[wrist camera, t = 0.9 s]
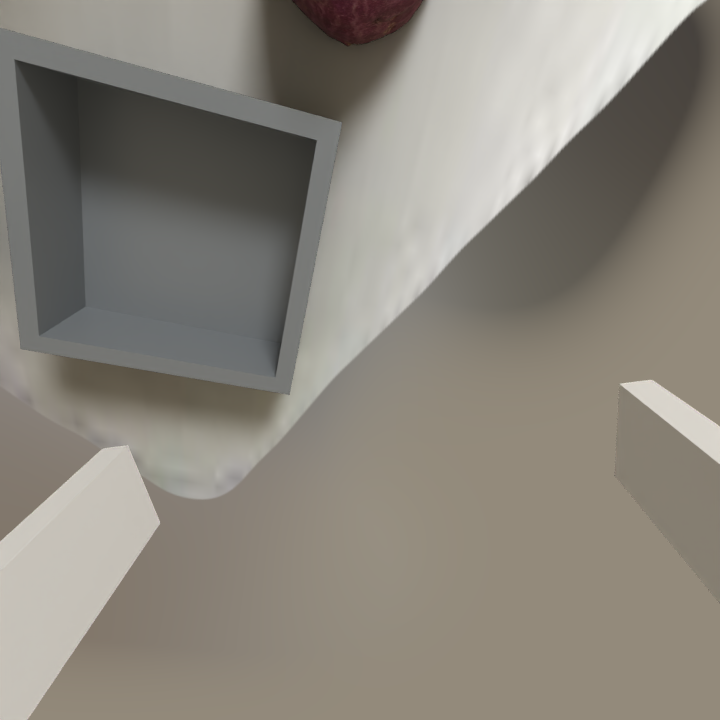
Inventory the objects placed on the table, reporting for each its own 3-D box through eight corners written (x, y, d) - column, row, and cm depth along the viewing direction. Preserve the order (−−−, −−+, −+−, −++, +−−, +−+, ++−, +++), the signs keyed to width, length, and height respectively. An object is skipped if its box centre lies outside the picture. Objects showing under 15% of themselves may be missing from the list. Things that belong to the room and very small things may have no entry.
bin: (64, 53, 27) (-16, 23, 21) (339, 128, 30) (342, 122, 24) (76, 313, 35) (20, 349, 28) (296, 354, 38) (289, 394, 31)
